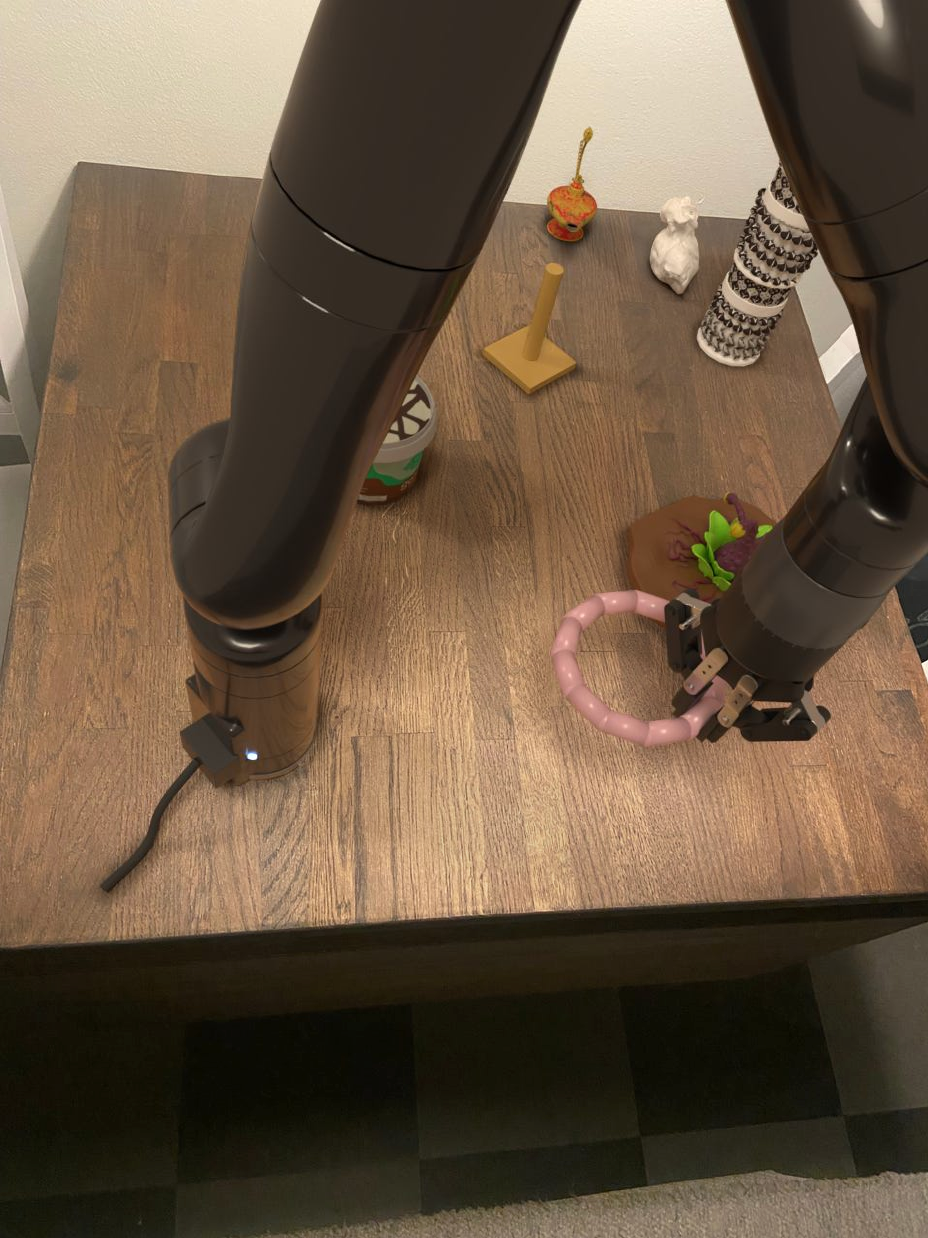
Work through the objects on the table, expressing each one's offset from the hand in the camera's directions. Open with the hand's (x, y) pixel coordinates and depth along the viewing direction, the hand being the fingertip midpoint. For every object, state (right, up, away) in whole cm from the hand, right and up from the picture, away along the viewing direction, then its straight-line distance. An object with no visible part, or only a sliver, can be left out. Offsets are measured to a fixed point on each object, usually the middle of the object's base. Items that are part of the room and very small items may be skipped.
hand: (694, 722), depth 69 cm
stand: (-10, +39, +40) cm, 57 cm away
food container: (-24, +22, +27) cm, 43 cm away
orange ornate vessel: (-4, +60, +55) cm, 81 cm away
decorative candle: (+16, +43, +48) cm, 67 cm away
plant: (+9, +11, +26) cm, 30 cm away
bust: (+10, +54, +55) cm, 78 cm away
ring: (-4, +4, +1) cm, 6 cm away
